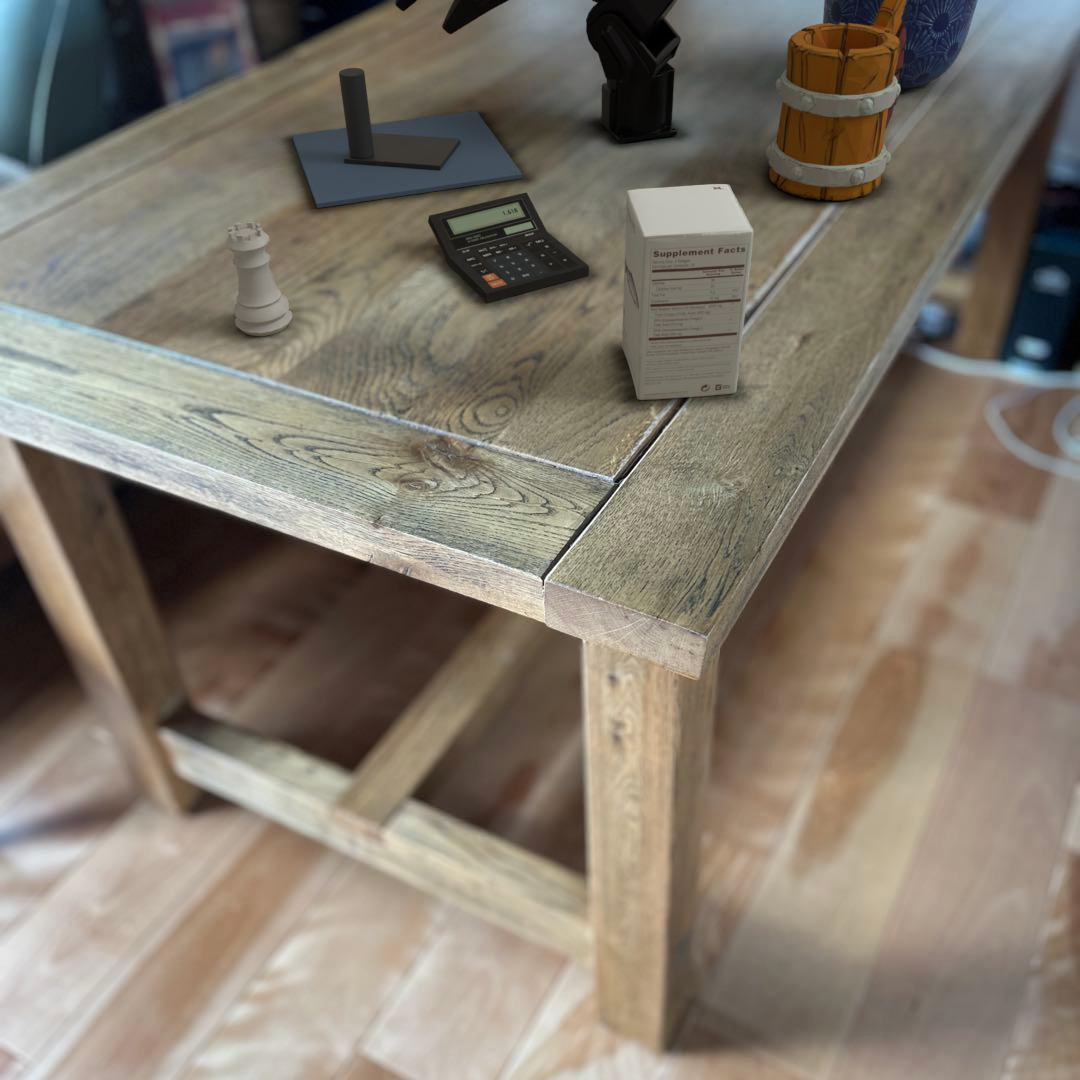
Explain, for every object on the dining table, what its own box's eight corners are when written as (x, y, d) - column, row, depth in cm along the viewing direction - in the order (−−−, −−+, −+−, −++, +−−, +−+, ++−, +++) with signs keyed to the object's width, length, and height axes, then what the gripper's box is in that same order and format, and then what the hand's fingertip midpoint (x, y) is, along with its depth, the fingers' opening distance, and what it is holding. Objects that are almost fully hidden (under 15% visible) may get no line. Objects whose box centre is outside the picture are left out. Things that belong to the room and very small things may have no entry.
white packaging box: (619, 348, 83) (624, 186, 75) (717, 342, 84) (732, 180, 76) (634, 403, 78) (641, 235, 70) (738, 396, 78) (757, 228, 70)
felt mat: (476, 115, 121) (476, 110, 120) (522, 178, 108) (522, 173, 107) (292, 139, 117) (291, 134, 116) (317, 208, 103) (316, 203, 103)
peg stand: (460, 143, 113) (454, 57, 108) (440, 170, 108) (432, 81, 103) (368, 137, 115) (357, 51, 110) (344, 163, 110) (331, 75, 105)
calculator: (487, 303, 89) (485, 268, 87) (430, 246, 97) (427, 213, 95) (588, 275, 92) (588, 241, 90) (525, 222, 100) (524, 190, 98)
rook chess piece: (303, 314, 88) (286, 219, 83) (275, 342, 85) (256, 245, 80) (254, 306, 90) (234, 212, 84) (225, 333, 86) (202, 237, 81)
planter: (937, 113, 118) (971, -44, 108) (787, 87, 125) (805, -63, 115) (981, 66, 129) (1015, -81, 119) (840, 45, 135) (861, -96, 125)
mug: (742, 183, 106) (759, 15, 96) (834, 133, 114) (858, -26, 105) (841, 214, 100) (870, 39, 90) (930, 159, 109) (965, -6, 99)
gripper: (406, -206, 104) (316, -56, 106) (514, -181, 92) (410, -13, 94) (483, -120, 112) (397, 16, 115) (591, -88, 100) (493, 64, 103)
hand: (421, 19), depth 106 cm, fingers open, 9 cm apart
